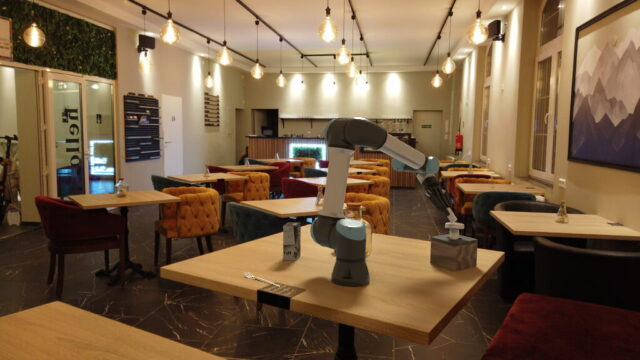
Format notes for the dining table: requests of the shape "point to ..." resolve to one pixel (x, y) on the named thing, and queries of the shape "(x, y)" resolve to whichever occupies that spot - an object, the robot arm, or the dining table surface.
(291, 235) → the coffee box
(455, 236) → the plunger
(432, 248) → the socket block
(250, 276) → the fork
